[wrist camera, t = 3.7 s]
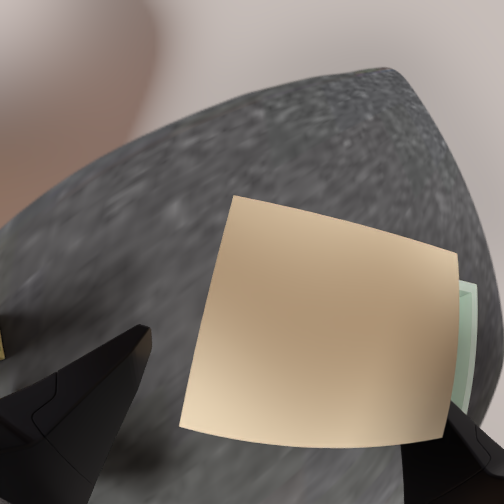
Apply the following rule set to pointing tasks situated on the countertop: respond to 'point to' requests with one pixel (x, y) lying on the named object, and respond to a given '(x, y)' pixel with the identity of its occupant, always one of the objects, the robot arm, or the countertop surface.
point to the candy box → (1, 349)
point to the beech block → (323, 334)
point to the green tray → (465, 345)
